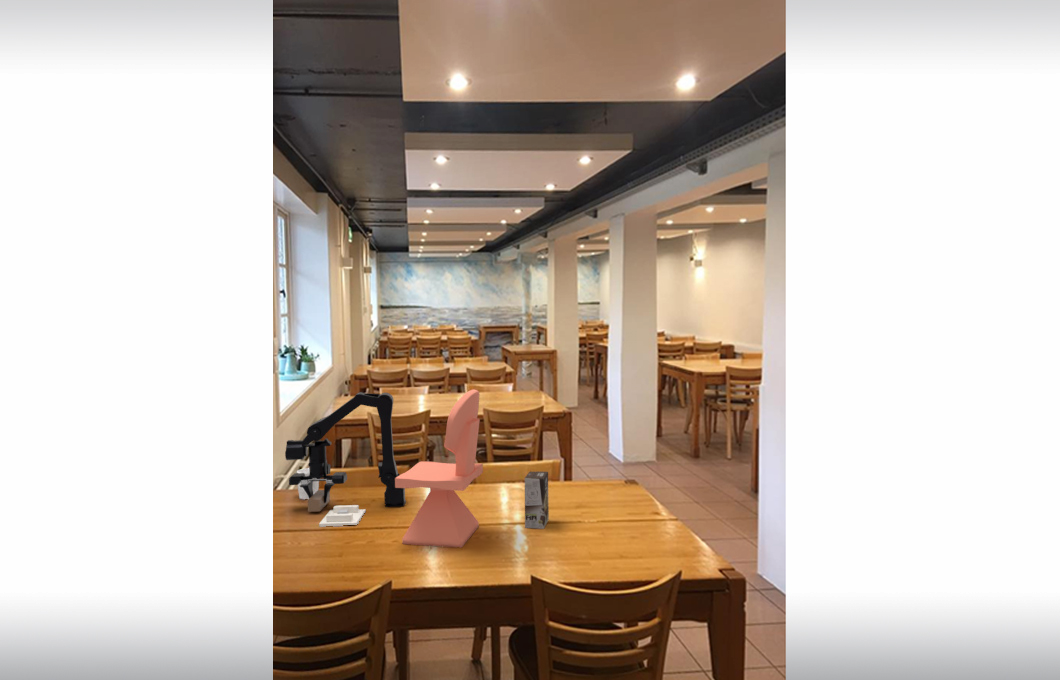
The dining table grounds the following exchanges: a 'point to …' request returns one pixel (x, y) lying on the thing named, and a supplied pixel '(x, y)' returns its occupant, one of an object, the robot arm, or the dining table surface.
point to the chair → (447, 482)
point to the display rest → (343, 516)
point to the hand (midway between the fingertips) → (319, 502)
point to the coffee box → (536, 500)
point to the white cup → (301, 491)
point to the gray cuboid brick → (317, 501)
